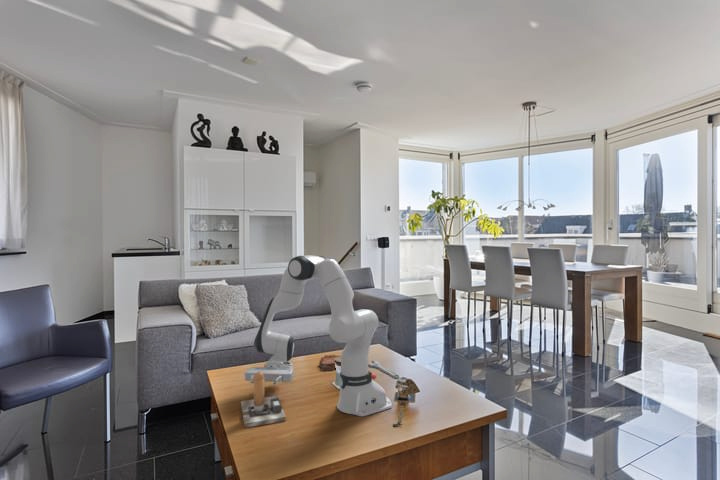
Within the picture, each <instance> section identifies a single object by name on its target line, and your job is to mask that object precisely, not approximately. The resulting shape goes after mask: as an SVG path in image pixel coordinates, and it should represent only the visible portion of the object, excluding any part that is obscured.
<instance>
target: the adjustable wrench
mask: <svg viewBox="0 0 720 480" xmlns="http://www.w3.org/2000/svg"><path fill="white" fill-rule="evenodd" d="M368 367H369V368H375V369H377V370H380V371H382V372H383V373H384V374H386V373H387V374H386V375H388V374H389V375H388V376H390V377H392V378H393V377H394V378H393V379H396V378H397V379H400V374H397V373H396V372H394V371H392V370H390V369H388V368H386V367H384V366H382V365H381V364H380V362H379V360H378V361H377V360H371V362H370V361H368Z"/></svg>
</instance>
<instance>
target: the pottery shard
mask: <svg viewBox="0 0 720 480" xmlns="http://www.w3.org/2000/svg"><path fill="white" fill-rule="evenodd" d="M336 357H341V355H336V354H329V355H327V354H326V355H324V356H322V357H321V359H320V360H319V368H321V369H320V370H321V372H329V371H334V370H336V369H335V363H334V358H336Z"/></svg>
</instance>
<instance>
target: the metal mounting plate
mask: <svg viewBox="0 0 720 480" xmlns="http://www.w3.org/2000/svg"><path fill="white" fill-rule="evenodd" d="M277 398H279V396H278V395H275V396H274V395H273V396H268V397H267V396H266V397H264V411H263V412H261V413H255V412H254V398H253V399H247V400H241V401H240V406H241V413H242V420H243V426H244V428H245V429H246V428H251V427H257V426H263V425H268V424H275V423H280V422H286V421H287V420H286V419H287V418H286V417H287V416H286V414H285V412H284V408H283V406H282V405H281V412H276V413H273V411H272V408H271V399H277Z"/></svg>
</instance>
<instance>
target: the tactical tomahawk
mask: <svg viewBox="0 0 720 480" xmlns="http://www.w3.org/2000/svg"><path fill="white" fill-rule="evenodd" d="M400 401H401V402H400V406H401V405H404V406H405V404H406V401H405V400H400ZM404 409H405V407H404V408H400V407H399V413H398V418H397V423H392V427H393V428H398V427H401V425H402V424H401V423H402V419H403V415H404Z"/></svg>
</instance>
